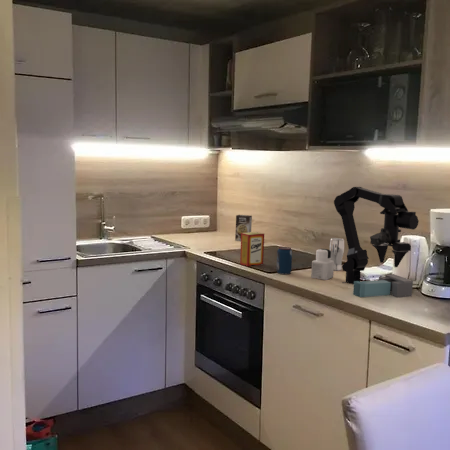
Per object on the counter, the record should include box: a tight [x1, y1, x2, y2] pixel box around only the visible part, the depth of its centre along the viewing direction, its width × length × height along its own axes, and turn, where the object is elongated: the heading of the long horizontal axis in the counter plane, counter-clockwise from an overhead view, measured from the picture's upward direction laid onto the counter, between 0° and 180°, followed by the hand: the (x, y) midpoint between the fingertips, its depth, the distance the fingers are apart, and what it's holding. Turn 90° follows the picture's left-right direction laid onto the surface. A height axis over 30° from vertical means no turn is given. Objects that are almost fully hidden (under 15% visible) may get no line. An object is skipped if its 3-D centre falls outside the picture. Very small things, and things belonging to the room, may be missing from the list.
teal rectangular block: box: [352, 279, 391, 298], centre depth 214 cm, size 5×14×5 cm, turn 110°
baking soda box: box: [239, 231, 265, 267], centre depth 271 cm, size 10×6×16 cm
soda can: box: [275, 246, 293, 275], centre depth 253 cm, size 7×7×12 cm
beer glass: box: [328, 237, 345, 272], centre depth 265 cm, size 7×7×15 cm
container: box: [310, 248, 335, 281], centre depth 246 cm, size 8×8×13 cm
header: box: [378, 273, 414, 298], centre depth 217 cm, size 12×7×7 cm, turn 20°
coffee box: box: [234, 214, 253, 242], centre depth 345 cm, size 9×6×16 cm
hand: (388, 264), depth 219 cm, fingers open, 9 cm apart
